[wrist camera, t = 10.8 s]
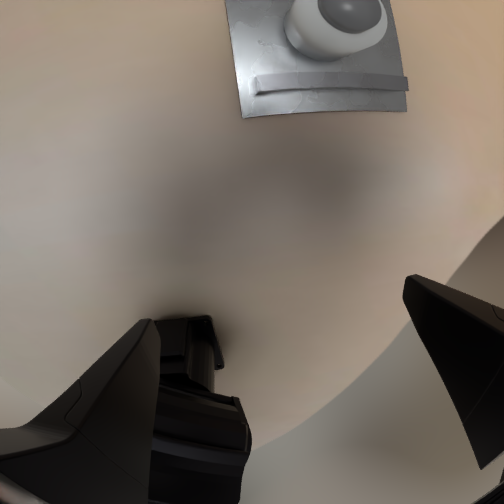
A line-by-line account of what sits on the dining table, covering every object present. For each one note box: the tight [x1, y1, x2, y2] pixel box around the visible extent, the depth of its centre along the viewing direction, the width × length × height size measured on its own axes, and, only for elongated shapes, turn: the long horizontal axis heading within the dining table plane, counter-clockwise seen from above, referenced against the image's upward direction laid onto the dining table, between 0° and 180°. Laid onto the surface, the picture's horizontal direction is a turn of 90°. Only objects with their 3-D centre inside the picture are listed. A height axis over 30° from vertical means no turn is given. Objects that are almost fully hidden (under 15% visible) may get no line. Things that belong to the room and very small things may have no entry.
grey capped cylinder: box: [284, 0, 387, 61], centre depth 12 cm, size 5×5×6 cm
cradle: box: [225, 0, 409, 118], centre depth 14 cm, size 12×12×2 cm
